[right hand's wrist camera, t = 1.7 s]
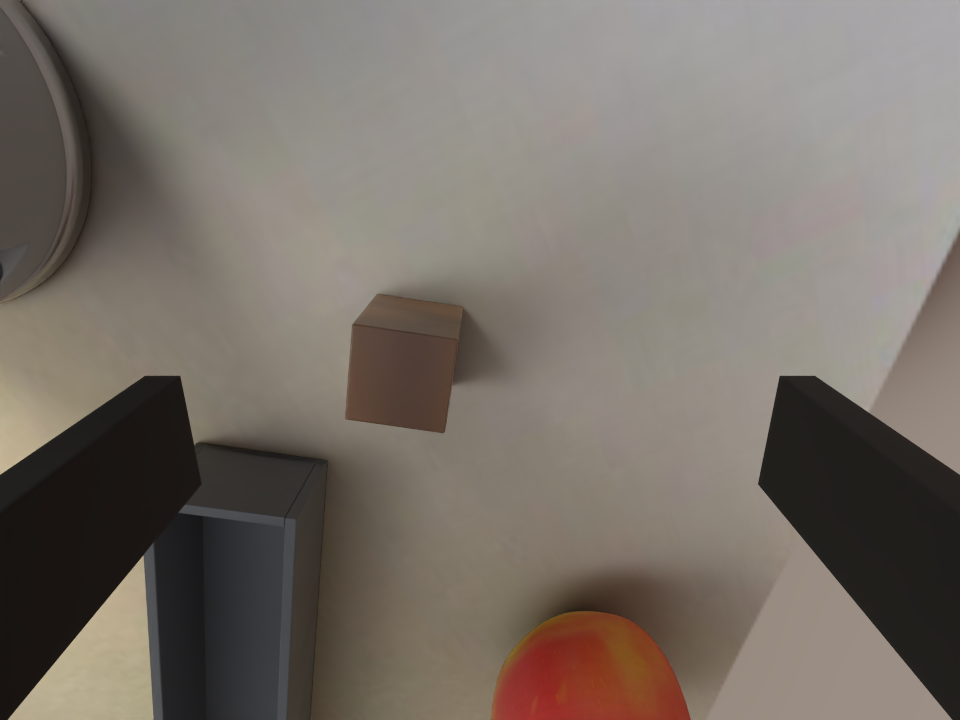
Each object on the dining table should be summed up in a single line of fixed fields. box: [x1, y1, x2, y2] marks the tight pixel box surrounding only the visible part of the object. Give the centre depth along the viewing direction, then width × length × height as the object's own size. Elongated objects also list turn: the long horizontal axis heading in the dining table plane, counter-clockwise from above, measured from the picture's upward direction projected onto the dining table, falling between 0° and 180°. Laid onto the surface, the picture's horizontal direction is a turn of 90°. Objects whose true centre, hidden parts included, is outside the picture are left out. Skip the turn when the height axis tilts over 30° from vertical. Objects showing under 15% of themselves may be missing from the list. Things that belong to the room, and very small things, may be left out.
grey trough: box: [144, 443, 328, 720], centre depth 31 cm, size 7×28×5 cm, turn 171°
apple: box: [491, 611, 691, 720], centre depth 27 cm, size 10×10×10 cm
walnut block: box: [345, 294, 463, 433], centre depth 24 cm, size 4×4×5 cm
